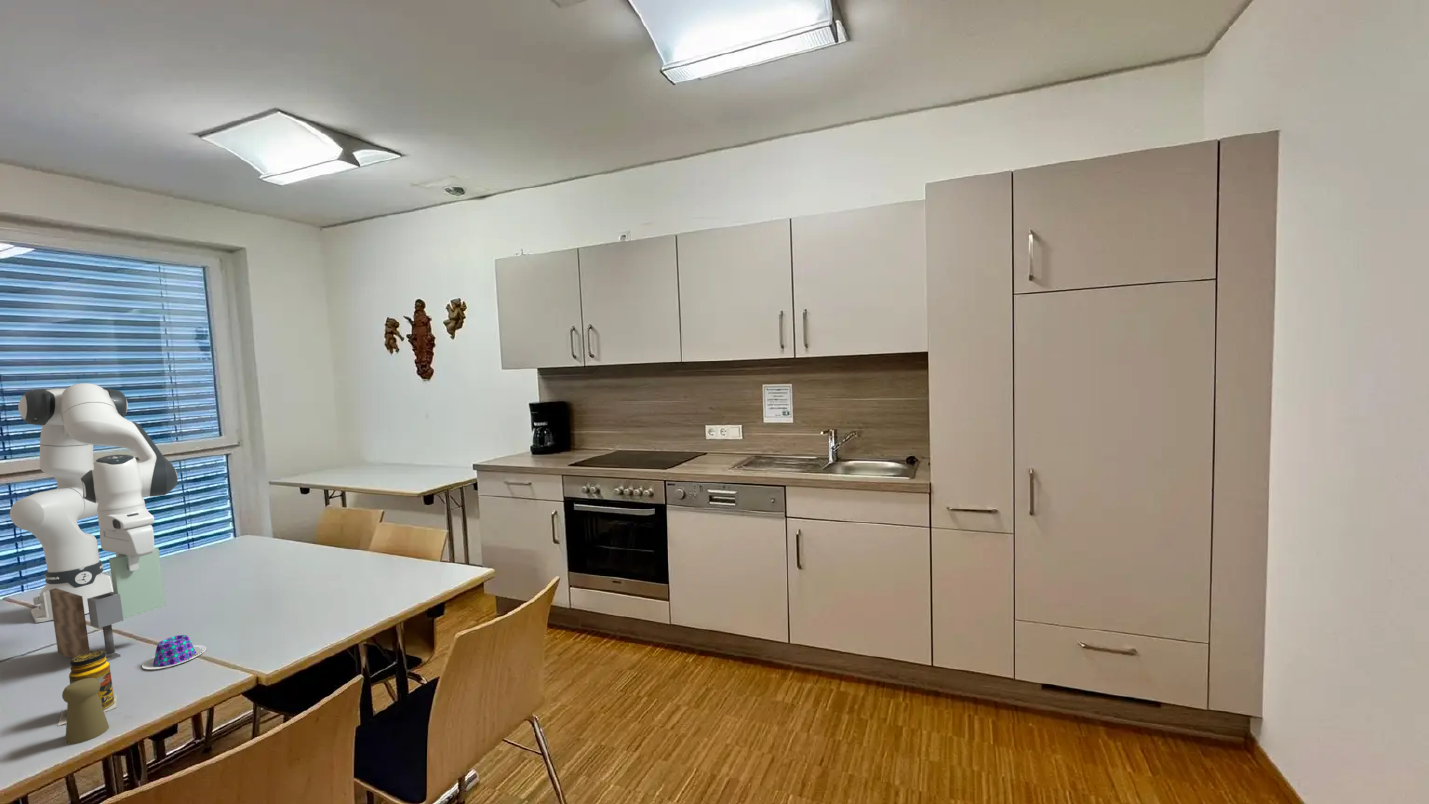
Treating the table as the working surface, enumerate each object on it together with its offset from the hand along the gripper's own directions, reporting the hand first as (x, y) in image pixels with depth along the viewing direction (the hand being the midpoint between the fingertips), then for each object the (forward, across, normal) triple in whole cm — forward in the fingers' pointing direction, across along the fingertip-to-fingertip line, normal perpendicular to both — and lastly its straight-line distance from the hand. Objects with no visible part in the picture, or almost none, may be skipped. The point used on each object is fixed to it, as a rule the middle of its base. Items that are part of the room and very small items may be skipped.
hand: (129, 569), depth 154 cm
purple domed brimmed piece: (+22, +17, 0) cm, 28 cm away
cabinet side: (+21, -9, -7) cm, 24 cm away
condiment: (+22, +28, -19) cm, 40 cm away
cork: (+22, +40, -23) cm, 51 cm away
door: (+12, 0, -1) cm, 12 cm away
